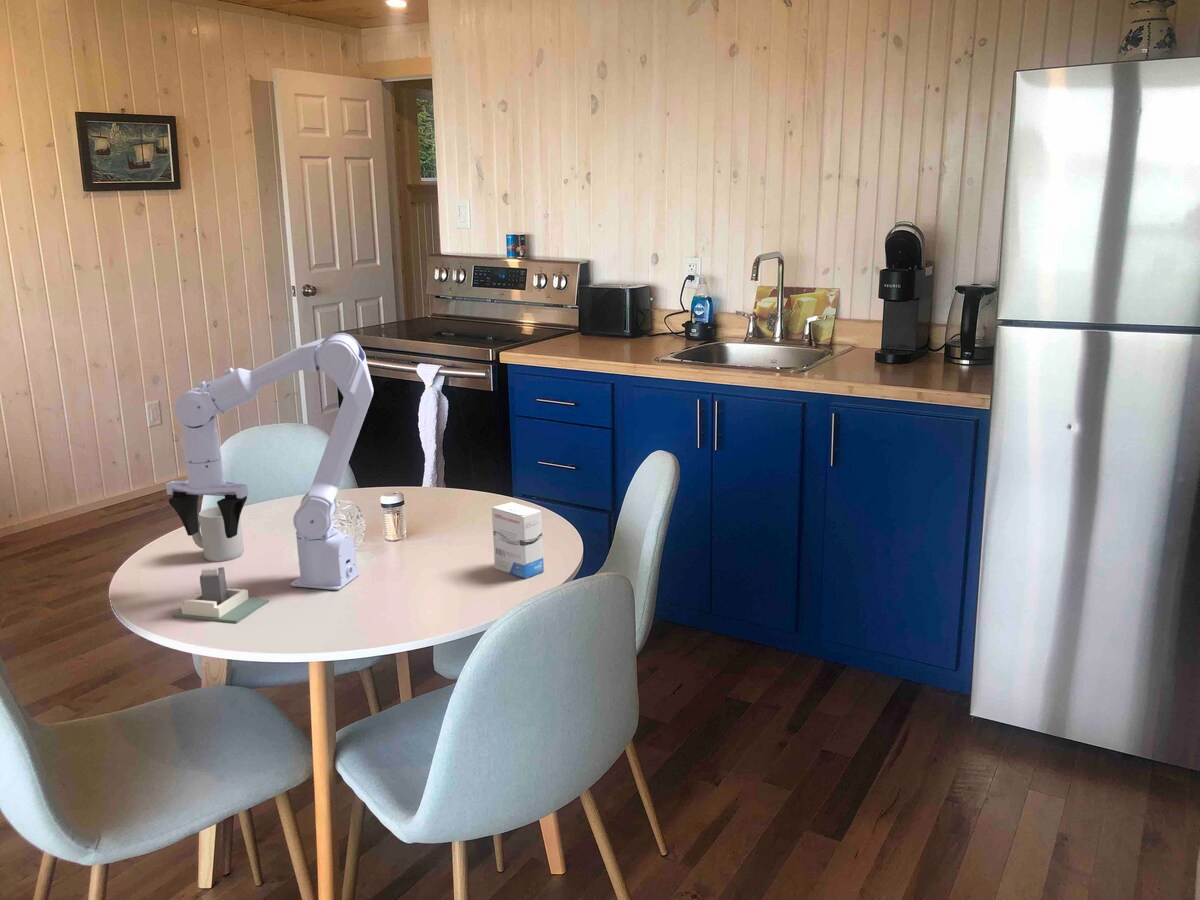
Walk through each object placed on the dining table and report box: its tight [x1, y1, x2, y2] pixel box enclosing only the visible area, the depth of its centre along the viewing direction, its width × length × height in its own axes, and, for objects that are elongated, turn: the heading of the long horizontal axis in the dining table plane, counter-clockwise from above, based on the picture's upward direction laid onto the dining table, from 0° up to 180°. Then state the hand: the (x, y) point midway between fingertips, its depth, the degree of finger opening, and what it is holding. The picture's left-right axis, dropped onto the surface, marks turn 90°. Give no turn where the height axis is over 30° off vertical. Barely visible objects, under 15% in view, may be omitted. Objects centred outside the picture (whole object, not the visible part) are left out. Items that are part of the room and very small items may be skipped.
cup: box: [191, 505, 245, 563], centre depth 186 cm, size 7×10×9 cm
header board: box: [171, 587, 269, 624], centre depth 161 cm, size 12×9×3 cm
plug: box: [199, 567, 228, 606], centre depth 161 cm, size 3×4×7 cm
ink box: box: [491, 501, 545, 579], centre depth 175 cm, size 8×5×12 cm, turn 47°
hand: (212, 535), depth 168 cm, fingers open, 7 cm apart
